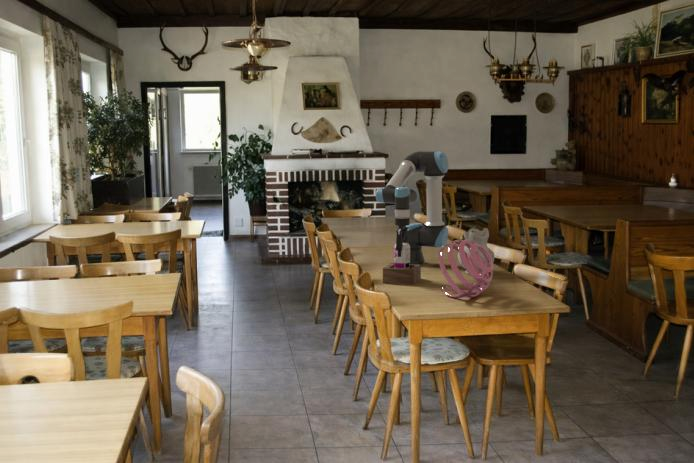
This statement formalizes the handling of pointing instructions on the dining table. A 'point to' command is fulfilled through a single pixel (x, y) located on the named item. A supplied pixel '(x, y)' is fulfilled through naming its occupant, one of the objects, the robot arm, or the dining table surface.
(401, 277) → the dark wooden box
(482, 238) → the grey rounded figure
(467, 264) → the spiral basket
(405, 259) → the supplement can
